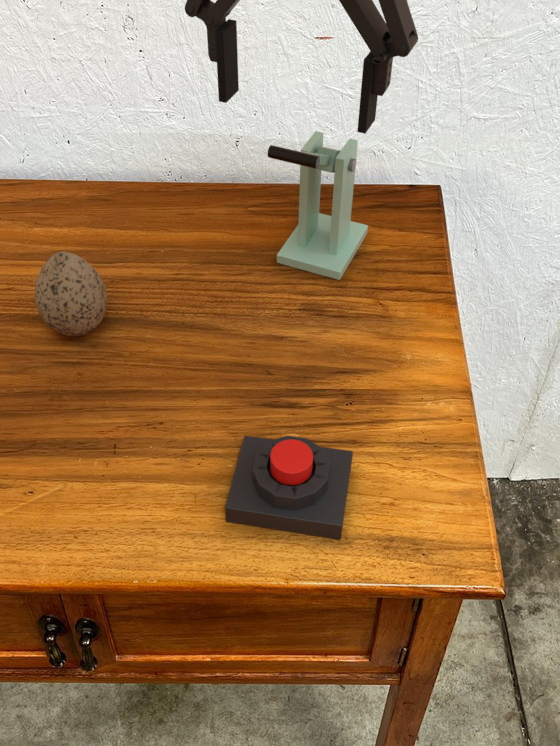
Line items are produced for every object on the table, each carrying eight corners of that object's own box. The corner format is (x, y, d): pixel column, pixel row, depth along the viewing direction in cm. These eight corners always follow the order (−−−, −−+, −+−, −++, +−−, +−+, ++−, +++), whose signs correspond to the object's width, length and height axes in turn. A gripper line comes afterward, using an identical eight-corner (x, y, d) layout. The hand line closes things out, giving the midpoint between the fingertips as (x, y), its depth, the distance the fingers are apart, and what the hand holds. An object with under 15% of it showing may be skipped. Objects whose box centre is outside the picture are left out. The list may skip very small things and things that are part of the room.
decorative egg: (58, 360, 80) (38, 286, 73) (35, 320, 84) (13, 246, 77) (123, 335, 83) (109, 261, 76) (97, 298, 87) (81, 224, 80)
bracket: (339, 280, 90) (348, 176, 80) (276, 262, 92) (277, 159, 82) (367, 233, 96) (379, 131, 86) (307, 217, 98) (312, 116, 88)
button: (266, 482, 66) (266, 469, 64) (274, 449, 68) (274, 436, 67) (308, 488, 65) (309, 476, 64) (314, 455, 68) (315, 442, 66)
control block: (225, 522, 67) (223, 495, 64) (244, 450, 72) (243, 422, 70) (340, 540, 66) (343, 513, 63) (351, 465, 71) (354, 438, 68)
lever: (313, 175, 73) (319, 149, 73) (265, 163, 75) (270, 138, 74) (350, 175, 86) (355, 153, 85) (308, 165, 88) (313, 144, 87)
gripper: (486, -160, 55) (439, 119, 70) (174, -194, 61) (193, 67, 77) (460, -133, 50) (415, 160, 65) (124, -173, 56) (156, 101, 72)
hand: (295, 110), depth 71 cm, fingers open, 13 cm apart
